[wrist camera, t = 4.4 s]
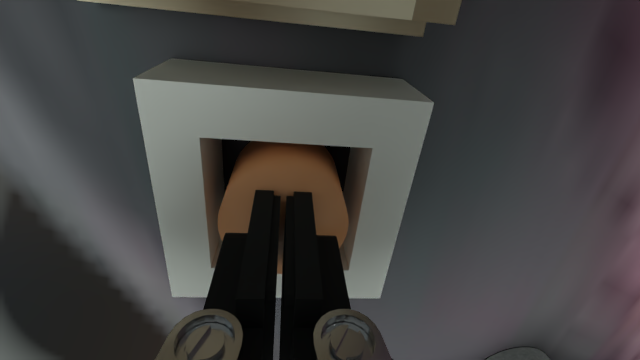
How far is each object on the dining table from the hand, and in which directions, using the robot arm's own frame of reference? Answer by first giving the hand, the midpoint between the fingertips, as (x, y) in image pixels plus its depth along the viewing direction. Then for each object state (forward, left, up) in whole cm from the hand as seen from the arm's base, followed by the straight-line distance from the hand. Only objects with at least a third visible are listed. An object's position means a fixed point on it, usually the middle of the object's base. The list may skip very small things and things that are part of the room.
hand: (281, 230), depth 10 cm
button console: (0, 0, -4) cm, 4 cm away
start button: (0, 0, -3) cm, 3 cm away
